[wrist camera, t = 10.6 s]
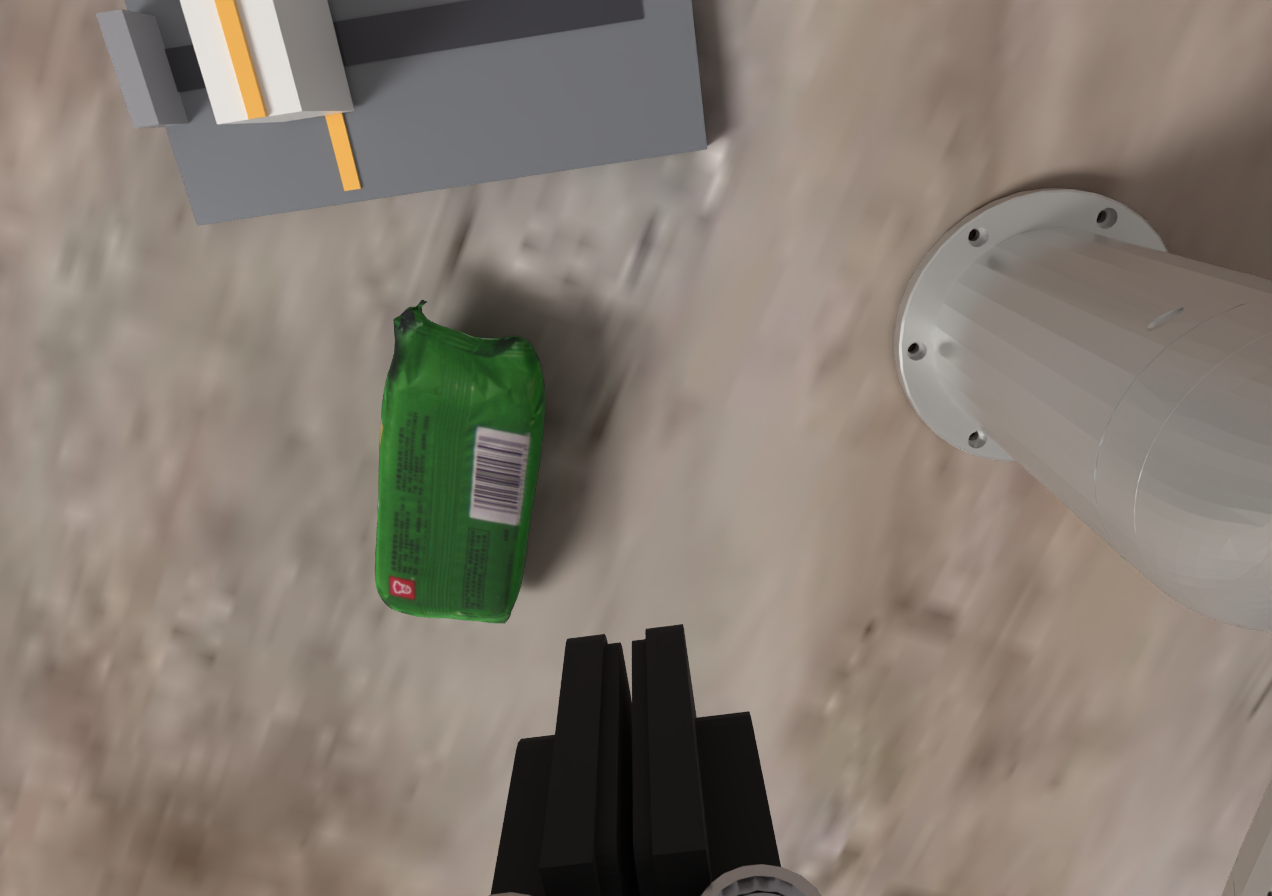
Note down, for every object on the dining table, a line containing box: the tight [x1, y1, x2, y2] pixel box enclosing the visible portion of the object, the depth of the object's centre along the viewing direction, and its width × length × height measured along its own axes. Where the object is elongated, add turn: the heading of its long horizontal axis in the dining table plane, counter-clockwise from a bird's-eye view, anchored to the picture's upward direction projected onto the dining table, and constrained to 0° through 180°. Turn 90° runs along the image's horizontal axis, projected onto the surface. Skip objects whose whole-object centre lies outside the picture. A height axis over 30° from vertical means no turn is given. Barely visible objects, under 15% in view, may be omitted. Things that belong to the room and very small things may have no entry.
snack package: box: [375, 300, 545, 623], centre depth 40 cm, size 7×16×5 cm, turn 171°
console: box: [96, 0, 707, 226], centre depth 34 cm, size 22×12×4 cm, turn 98°
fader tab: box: [180, 0, 354, 124], centre depth 31 cm, size 3×5×6 cm, turn 8°
